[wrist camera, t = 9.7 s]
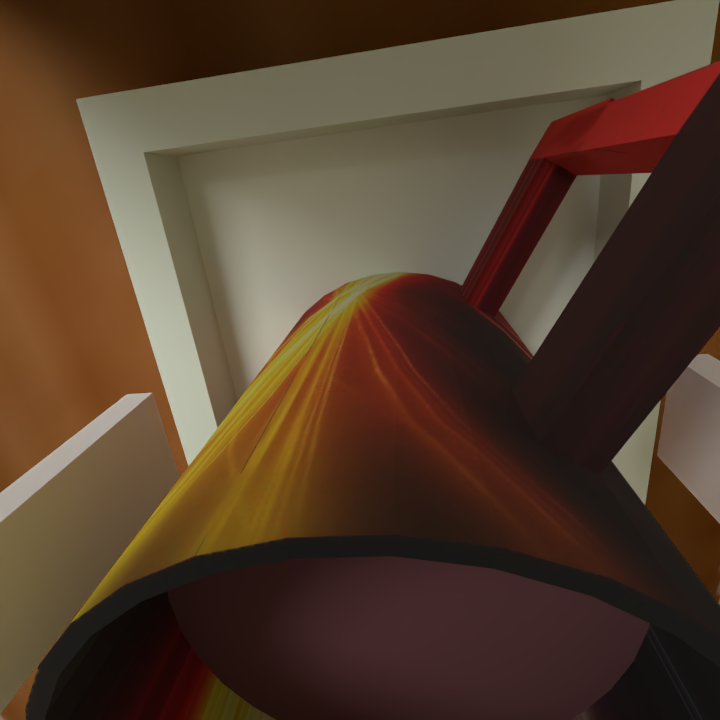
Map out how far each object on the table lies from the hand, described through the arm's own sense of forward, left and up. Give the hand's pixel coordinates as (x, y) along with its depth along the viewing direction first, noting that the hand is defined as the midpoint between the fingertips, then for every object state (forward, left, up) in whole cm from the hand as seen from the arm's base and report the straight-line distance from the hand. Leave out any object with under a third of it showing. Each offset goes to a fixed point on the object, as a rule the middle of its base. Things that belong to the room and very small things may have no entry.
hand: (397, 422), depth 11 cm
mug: (0, 0, -5) cm, 5 cm away
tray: (0, 0, -7) cm, 7 cm away
